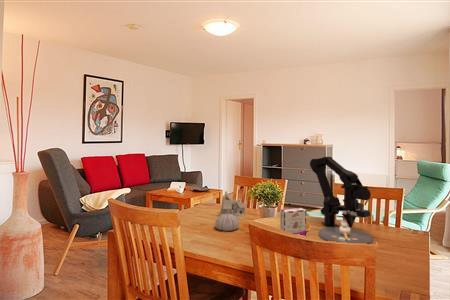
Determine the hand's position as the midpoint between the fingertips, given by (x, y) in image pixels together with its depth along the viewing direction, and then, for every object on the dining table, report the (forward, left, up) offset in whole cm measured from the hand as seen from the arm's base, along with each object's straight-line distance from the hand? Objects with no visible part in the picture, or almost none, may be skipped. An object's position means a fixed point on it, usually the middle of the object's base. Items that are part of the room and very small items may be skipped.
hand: (350, 227), depth 161 cm
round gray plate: (+6, -6, -3) cm, 9 cm away
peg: (+5, -6, -1) cm, 8 cm away
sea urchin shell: (-13, -63, -3) cm, 65 cm away
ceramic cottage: (-39, -58, -3) cm, 70 cm away
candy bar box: (+14, -35, -3) cm, 38 cm away
